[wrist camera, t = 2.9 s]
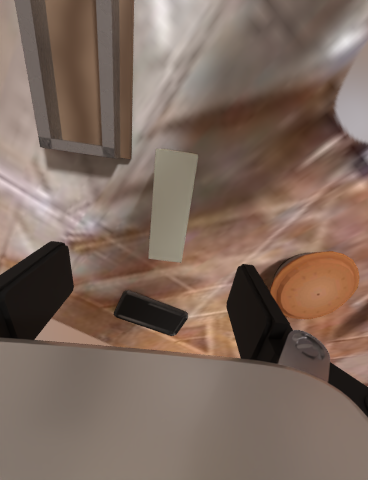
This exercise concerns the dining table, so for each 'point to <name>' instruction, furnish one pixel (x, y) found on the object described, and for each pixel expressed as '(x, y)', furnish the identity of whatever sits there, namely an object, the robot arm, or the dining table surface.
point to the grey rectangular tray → (80, 73)
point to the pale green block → (171, 203)
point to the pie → (314, 284)
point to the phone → (150, 313)
